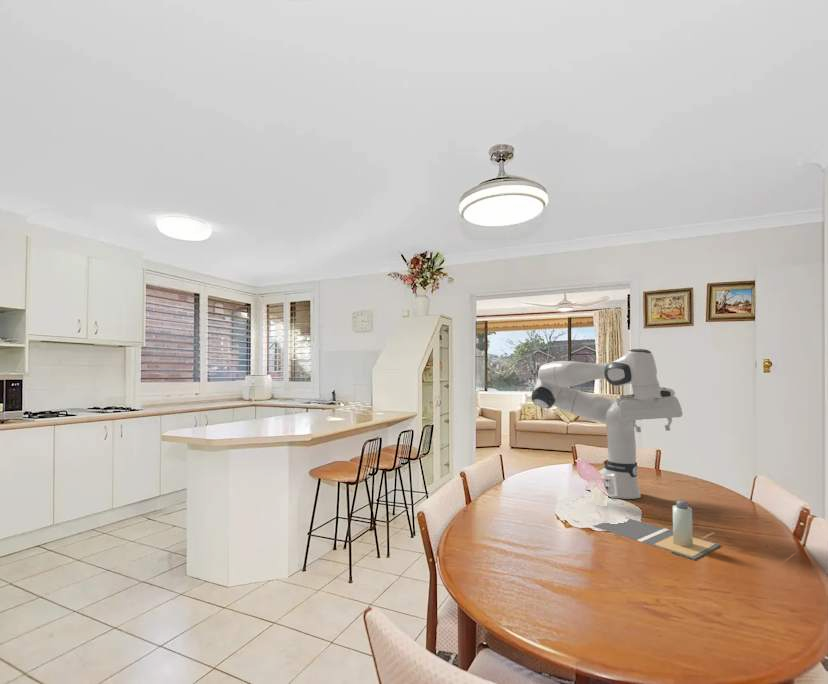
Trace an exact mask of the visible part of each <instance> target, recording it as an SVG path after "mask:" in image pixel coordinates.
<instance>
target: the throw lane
mask: <svg viewBox="0 0 828 684" xmlns="http://www.w3.org/2000/svg"><path fill="white" fill-rule="evenodd" d="M593 527H594V528H596V529H599V530H601V531H606V532H609V533H613V534H615V535H617V536H618V535H619V536H621V537H624V538H628V539H631V540H633V541H637V542H641V543H643V544H645V545H650V546H652V547H655V548H658V549H662V550H664V551H668V552H671V554H674V555H677V556H680V557H682V558H686V559H689V560H693V561H696V560H698V559H700V558H702V557H703V556H705V555H707V554H709V553H710V552H712V551H714V550H716V549H718V548H720V547H721V544H720V543H717V542H714V541H710V540H706V539H703V538H700V537H695V536H693V546H692V547H682V546H678V545H676V544H674V543H673V529H672V530H671V529H669V528H663V527H660V526H658V525H654V524H650V523H647V522H643V521H640V520H636V519H633V518H629V520H628V521H627V522H624V523H618V524H610V523H604V522H602V523H599V524H596V525H593Z"/></svg>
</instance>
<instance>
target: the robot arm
mask: <svg viewBox="0 0 828 684" xmlns="http://www.w3.org/2000/svg"><path fill="white" fill-rule="evenodd" d="M537 373H538V374H537V379H536V382H535V385H534V388H533V390H532V392H531V396H530V397H531V401H532V402H533V404H534V405H535V406H536V407H538V408H540V409H541V408H542V409H550V408H552V407H553V406H554V407H556V408H557V409H560V410H562V411H564V412H566V413H569V414H571V415H575V416H578V417H581V418H585V419H587V420H590V421H595V422H601V423H604V424H605V427H606V428H605V429H606V439H607V459H606V460H604V461H602V465H604V467H603V468H601V469H600V470H599V471H598V472H600V473H601V474H602V475H603V476H604V477H605V479H604V487H605V489H606V491H607V493H608V495H609V497H611V498H610V499H624V500H625V499H626V500H631V499H632V500H633V499H639V498H641V497H642V495H641V492H640V488H639V485H638V484H639V483H638V462H637V452H636V451H637V449H636V448H637V447H636V445H637V444H636V436H635V435H636V434H635V432H636V433H641V432H642V430H641V426H638V425H637V421H641V420H656V419H667V421H668V423H667V424H666V425H664V428H665V429H664V430H665V431H671V424H672V422H673V418H681V417H682V416H683V410H682V406H681V403H680V401H679V399H678V398H677V396H675V395H676V392H675V390H674V389H672V388H667V387H664V386H663V387H661V386H660V383H659V380H658V377H657V374H658V371H657V365H656V361H655V358H654V355H653V352H652V351H650V350H649V349H645V348H634V349H633V348H632V349H629V350H627V352H626V353H625V354H624V355H622V356H621V357H619V358H617V359H615V360H613V361H610V362H604V363H603V362H600V363H598V362H597V363H595V362H594V363H593V362H584V361H583V362H582V361H574V360H557V361H551V362H547V363H544V364H542V365H541V366H539V369H538V371H537ZM600 379H601V380H602V379H605V380H606V382H608V383H609V384H610V385H612V386H616V387H620V386H626V385H629V384H631V387H632V388H631V389H632V393H631V394H624V395H623V394H622V395H620V396H618V397H617V398H616V400H615V399H611V398H607V397H602V396H598V395H595V394H592V393H588V392H586V391H581V390H578V389H574V388H572V387H576V386H578V385H582V384H586V383H588V382H592V381H595V380H600ZM570 387H571V388H570ZM584 489H585V490H586V491H588V490H589V487H588V486H587V485H586V486H585V487H584ZM609 497H608V498H609Z"/></svg>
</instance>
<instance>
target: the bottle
mask: <svg viewBox="0 0 828 684" xmlns="http://www.w3.org/2000/svg"><path fill="white" fill-rule="evenodd" d="M688 505H689V504H688V501H685V500H679V499H678V500H676V504H675V505H672V531H673V543H674V544H676V545H678V546H682V547H692V546H693V537H694V536H693V532H694V531H693V509H692V507H689V506H688Z"/></svg>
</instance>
